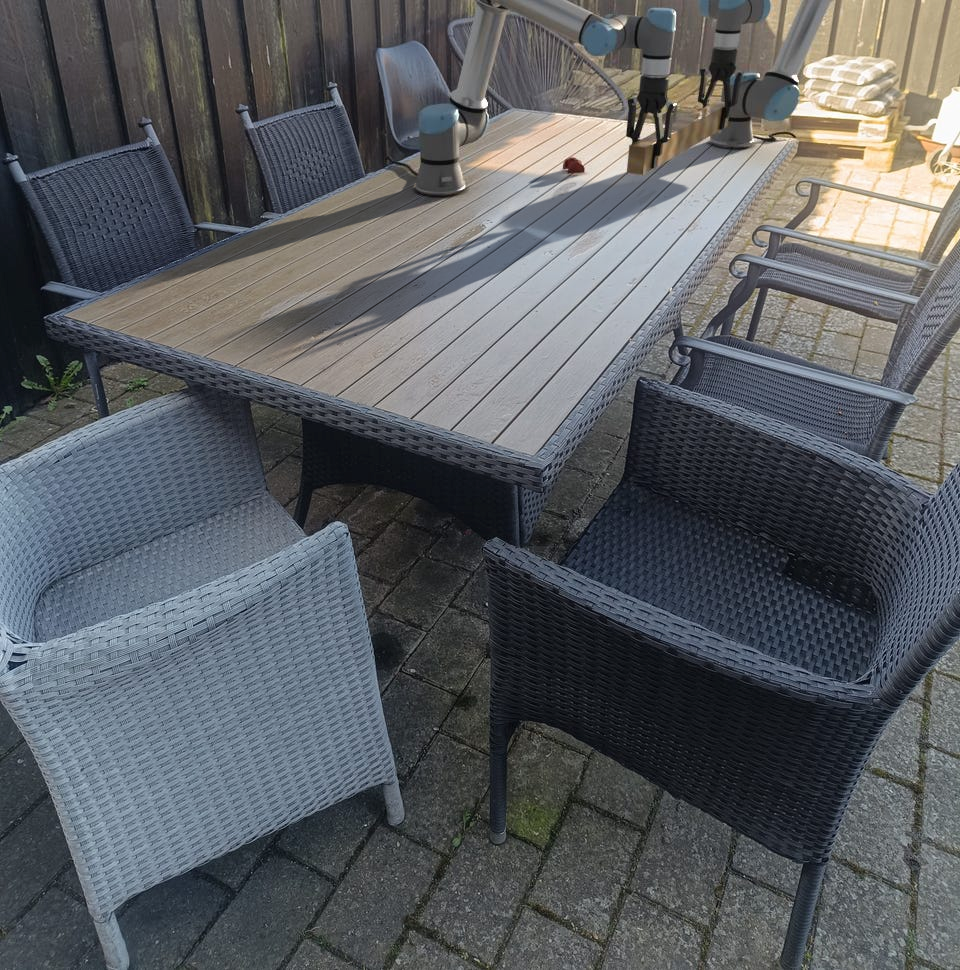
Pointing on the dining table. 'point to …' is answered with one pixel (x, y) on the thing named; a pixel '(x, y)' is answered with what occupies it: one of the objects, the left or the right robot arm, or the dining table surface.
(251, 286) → the dining table surface
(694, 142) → the bar
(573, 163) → the dark red lumpy piece
